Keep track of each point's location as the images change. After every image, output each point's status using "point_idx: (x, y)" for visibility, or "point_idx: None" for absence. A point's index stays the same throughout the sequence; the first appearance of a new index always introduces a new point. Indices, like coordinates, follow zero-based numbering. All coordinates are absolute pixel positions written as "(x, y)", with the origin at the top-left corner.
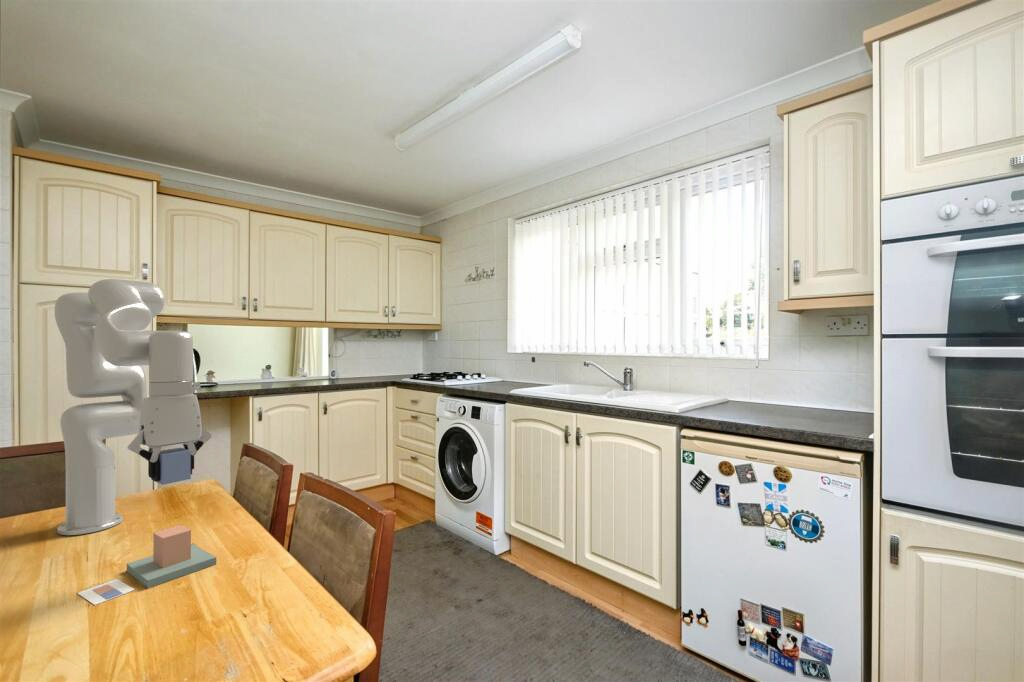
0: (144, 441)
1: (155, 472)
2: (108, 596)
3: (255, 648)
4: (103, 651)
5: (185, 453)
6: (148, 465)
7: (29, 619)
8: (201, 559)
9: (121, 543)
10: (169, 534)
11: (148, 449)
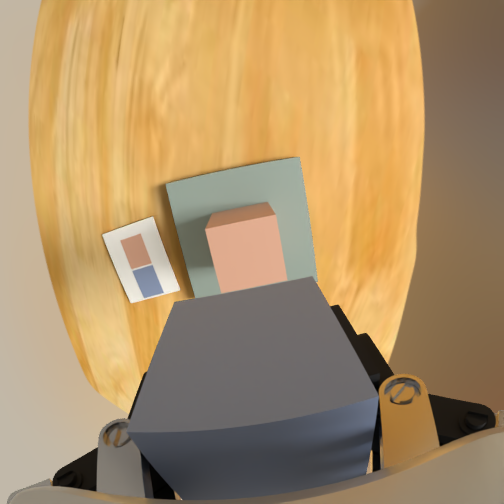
0: (31, 501)
1: None
2: (145, 288)
3: None
4: None
5: None
6: (131, 410)
7: (65, 278)
8: (293, 273)
9: (179, 5)
10: (238, 275)
11: (99, 486)
